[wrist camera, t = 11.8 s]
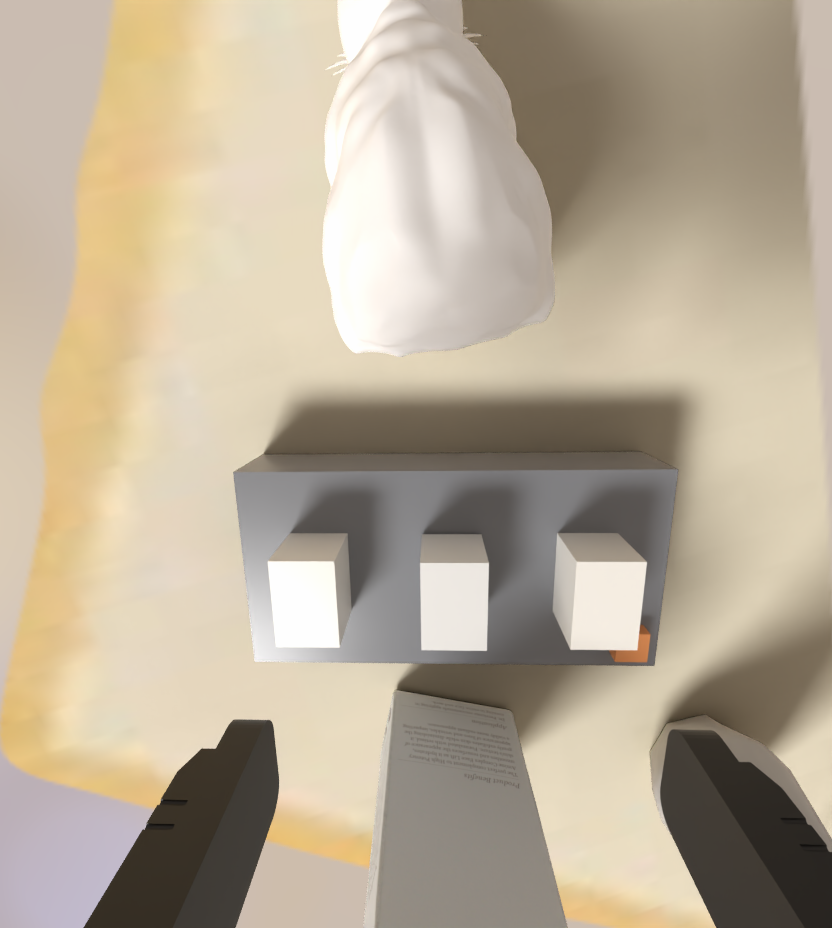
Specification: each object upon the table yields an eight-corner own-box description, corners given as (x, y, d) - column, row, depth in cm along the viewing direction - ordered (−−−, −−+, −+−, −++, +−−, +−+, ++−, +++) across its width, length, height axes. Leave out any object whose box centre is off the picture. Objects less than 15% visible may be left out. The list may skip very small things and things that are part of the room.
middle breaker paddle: (421, 534, 17) (420, 563, 15) (481, 534, 17) (488, 563, 15) (422, 611, 18) (421, 650, 16) (479, 611, 18) (486, 650, 16)
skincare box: (379, 754, 23) (326, 1161, 12) (394, 680, 22) (351, 1045, 11) (499, 775, 23) (565, 1202, 12) (519, 702, 22) (614, 1091, 11)
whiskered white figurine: (312, 362, 10) (193, -283, 9) (369, 377, 19) (314, 51, 17) (601, 314, 10) (533, -378, 8) (526, 352, 18) (485, 15, 17)
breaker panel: (262, 454, 20) (201, 491, 15) (641, 451, 19) (718, 489, 14) (278, 620, 22) (229, 705, 17) (623, 622, 21) (686, 712, 16)
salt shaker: (759, 696, 22) (1207, 1170, 9) (751, 793, 23) (1132, 1323, 11) (633, 703, 22) (896, 1170, 10) (632, 799, 24) (862, 1319, 11)
